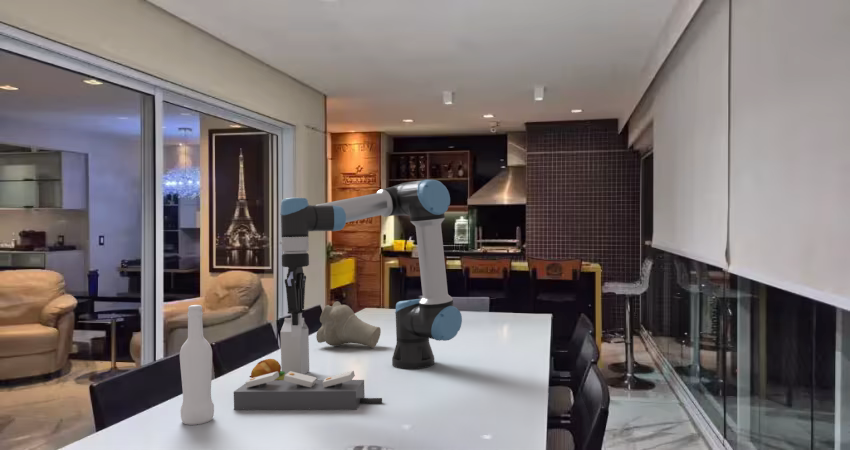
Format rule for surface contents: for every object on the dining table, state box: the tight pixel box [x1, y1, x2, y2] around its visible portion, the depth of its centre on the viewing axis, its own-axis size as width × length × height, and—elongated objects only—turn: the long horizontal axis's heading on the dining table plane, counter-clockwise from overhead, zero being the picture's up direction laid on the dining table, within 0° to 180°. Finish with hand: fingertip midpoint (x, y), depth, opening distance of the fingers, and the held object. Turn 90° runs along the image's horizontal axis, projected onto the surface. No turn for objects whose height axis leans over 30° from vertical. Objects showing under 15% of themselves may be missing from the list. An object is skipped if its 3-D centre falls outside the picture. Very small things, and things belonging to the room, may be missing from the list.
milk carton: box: [280, 317, 310, 375], centre depth 202 cm, size 7×7×19 cm
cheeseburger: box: [249, 358, 285, 380], centre depth 185 cm, size 10×11×10 cm
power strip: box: [233, 379, 383, 411], centre depth 167 cm, size 40×12×6 cm, turn 85°
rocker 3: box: [322, 370, 356, 387], centre depth 166 cm, size 8×5×2 cm, turn 85°
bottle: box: [179, 304, 215, 426], centre depth 154 cm, size 8×8×30 cm
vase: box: [315, 301, 381, 349], centre depth 245 cm, size 22×22×28 cm
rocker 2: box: [284, 371, 318, 387], centre depth 167 cm, size 8×5×2 cm, turn 85°
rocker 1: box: [244, 371, 279, 388], centre depth 168 cm, size 8×5×2 cm, turn 85°
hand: (296, 336), depth 167 cm, fingers closed
